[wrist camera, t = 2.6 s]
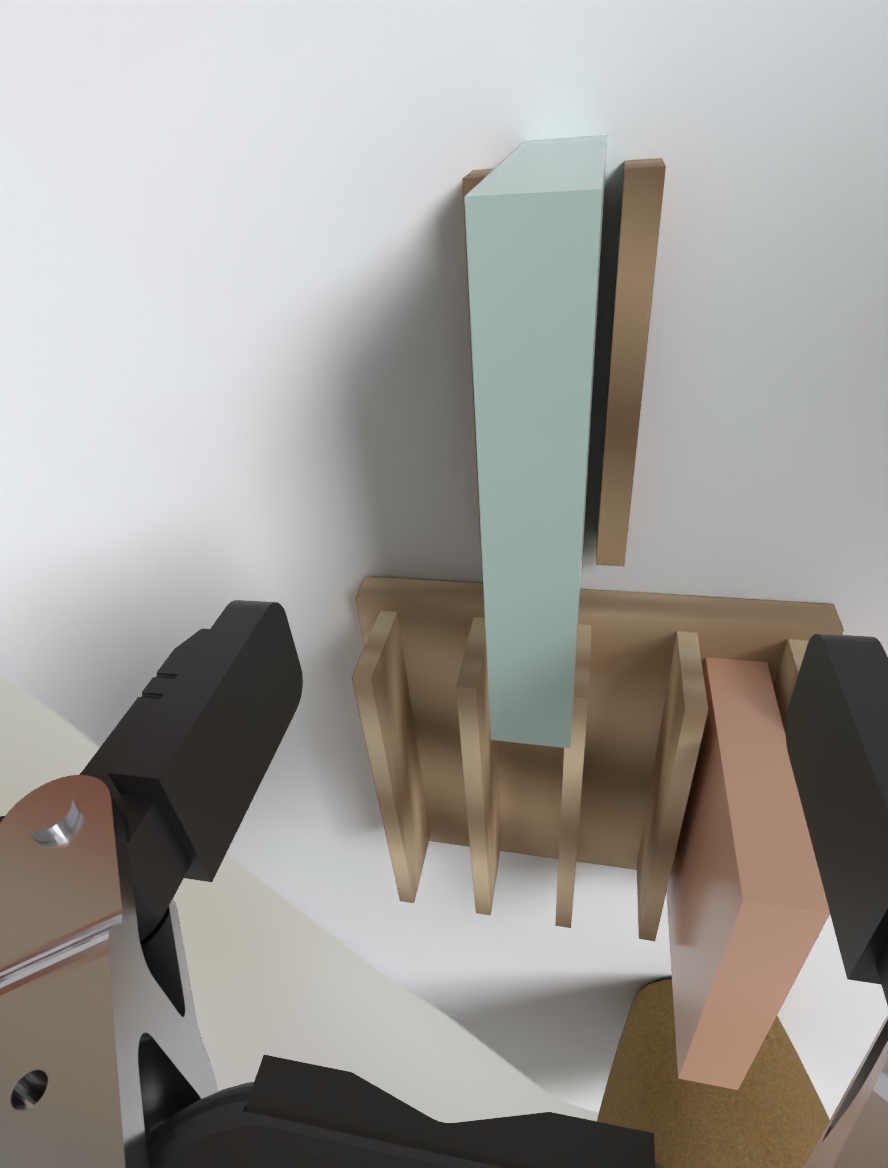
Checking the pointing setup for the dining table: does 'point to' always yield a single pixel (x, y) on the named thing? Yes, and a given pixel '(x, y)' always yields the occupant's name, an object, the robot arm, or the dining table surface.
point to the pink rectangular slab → (739, 881)
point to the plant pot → (710, 1097)
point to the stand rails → (621, 346)
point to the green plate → (534, 418)
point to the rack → (598, 736)
